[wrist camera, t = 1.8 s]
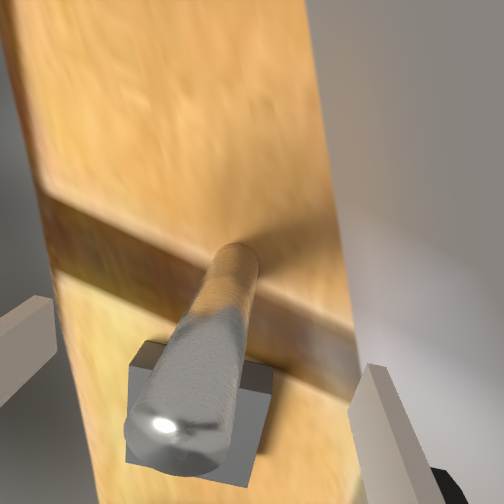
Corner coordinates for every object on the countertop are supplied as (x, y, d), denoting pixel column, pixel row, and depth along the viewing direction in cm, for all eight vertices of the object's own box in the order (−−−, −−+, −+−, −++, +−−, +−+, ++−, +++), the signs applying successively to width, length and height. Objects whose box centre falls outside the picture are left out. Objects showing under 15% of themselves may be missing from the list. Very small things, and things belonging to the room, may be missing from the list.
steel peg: (254, 289, 23) (221, 485, 10) (210, 281, 23) (122, 464, 10) (262, 248, 22) (237, 412, 9) (216, 239, 22) (125, 388, 9)
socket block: (250, 454, 30) (247, 488, 27) (139, 431, 30) (125, 462, 27) (272, 366, 26) (271, 395, 23) (145, 340, 26) (129, 365, 23)
